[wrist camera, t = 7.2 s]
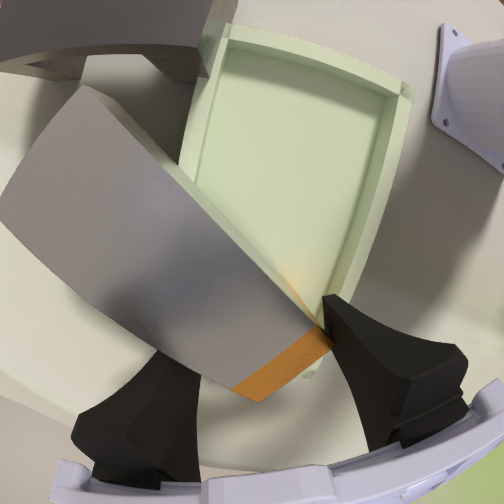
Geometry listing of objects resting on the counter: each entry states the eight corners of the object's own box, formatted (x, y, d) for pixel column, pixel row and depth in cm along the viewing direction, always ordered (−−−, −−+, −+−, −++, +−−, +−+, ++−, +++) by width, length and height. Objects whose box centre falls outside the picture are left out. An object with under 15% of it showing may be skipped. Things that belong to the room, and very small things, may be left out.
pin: (115, 99, 9) (83, 83, 5) (295, 291, 15) (335, 345, 11) (45, 180, 9) (-8, 211, 5) (234, 341, 16) (257, 402, 12)
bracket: (237, 4, 10) (242, -66, 4) (213, 87, 11) (197, 47, 6) (78, 6, 8) (21, -31, 3) (53, 80, 10) (-22, 69, 4)
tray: (394, 91, 12) (414, 88, 10) (306, 357, 18) (312, 378, 16) (216, 36, 10) (214, 21, 9) (164, 338, 17) (158, 360, 15)
